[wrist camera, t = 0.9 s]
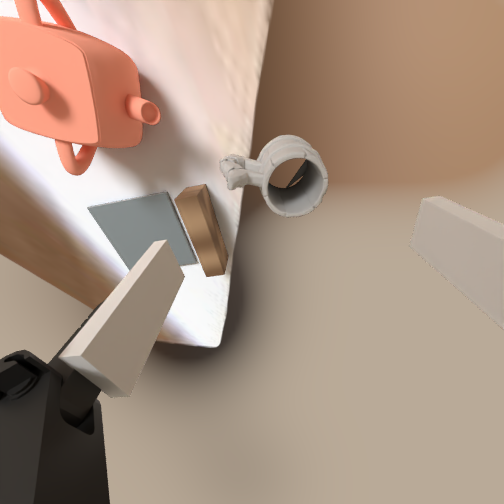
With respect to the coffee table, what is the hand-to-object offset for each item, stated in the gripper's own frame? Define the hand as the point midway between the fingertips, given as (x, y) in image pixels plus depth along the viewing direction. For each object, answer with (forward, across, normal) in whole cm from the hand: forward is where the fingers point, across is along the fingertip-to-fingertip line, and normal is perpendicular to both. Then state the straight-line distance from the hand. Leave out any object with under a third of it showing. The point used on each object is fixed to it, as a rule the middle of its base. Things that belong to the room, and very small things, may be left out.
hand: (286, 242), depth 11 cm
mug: (+20, 0, 0) cm, 20 cm away
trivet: (+20, -22, -7) cm, 31 cm away
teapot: (+20, -18, +11) cm, 29 cm away
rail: (+20, -11, -7) cm, 24 cm away
